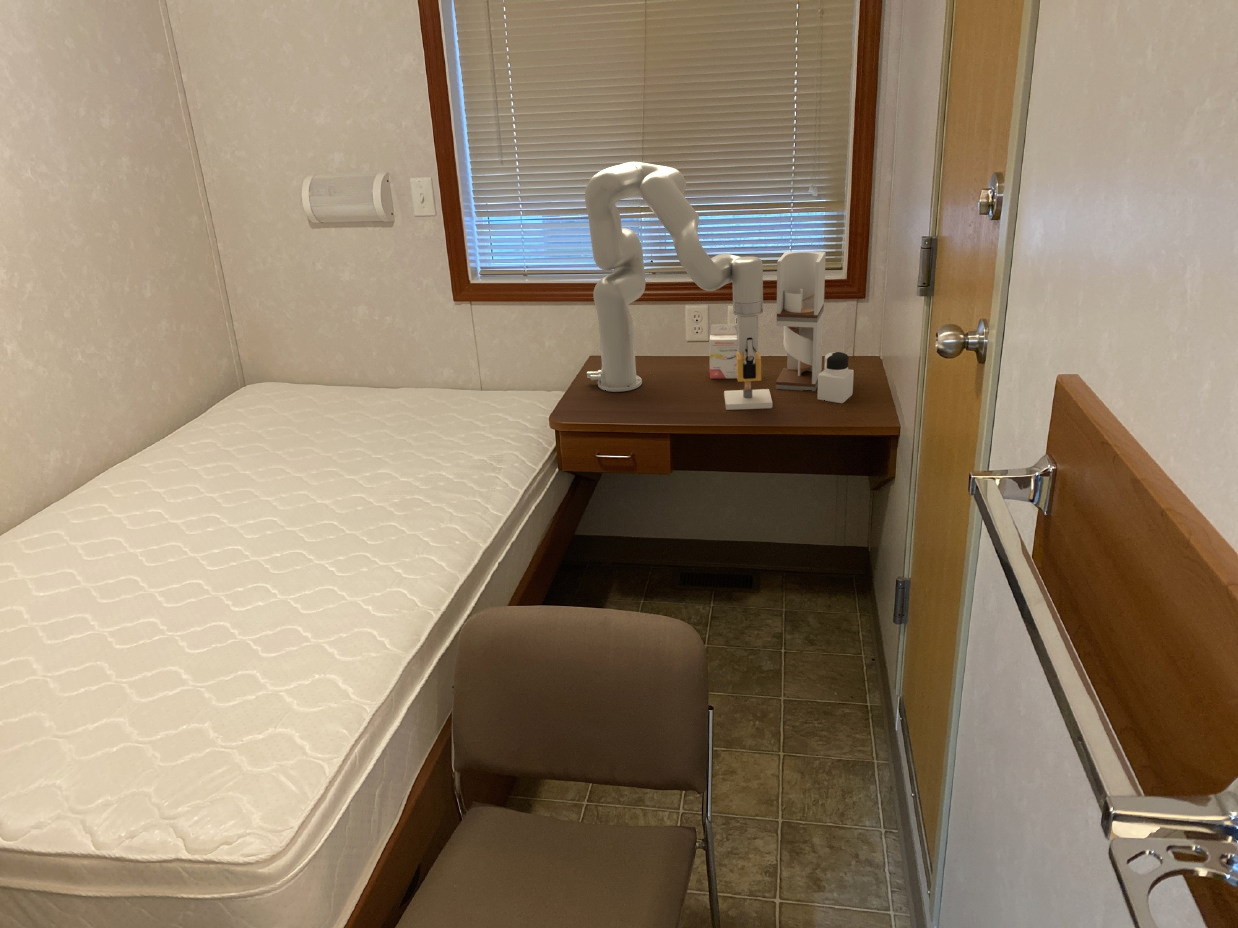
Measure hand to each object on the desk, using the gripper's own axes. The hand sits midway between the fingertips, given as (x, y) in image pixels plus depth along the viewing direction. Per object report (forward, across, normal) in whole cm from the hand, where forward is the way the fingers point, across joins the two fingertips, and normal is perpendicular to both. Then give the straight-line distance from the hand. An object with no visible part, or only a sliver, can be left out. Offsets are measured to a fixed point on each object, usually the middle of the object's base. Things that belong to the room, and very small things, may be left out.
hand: (748, 373), depth 238 cm
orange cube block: (+1, 0, 0) cm, 1 cm away
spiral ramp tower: (+8, -13, +15) cm, 21 cm away
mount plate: (+8, 0, 0) cm, 8 cm away
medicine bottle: (+8, -1, +23) cm, 24 cm away
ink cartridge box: (+8, -21, -5) cm, 23 cm away
